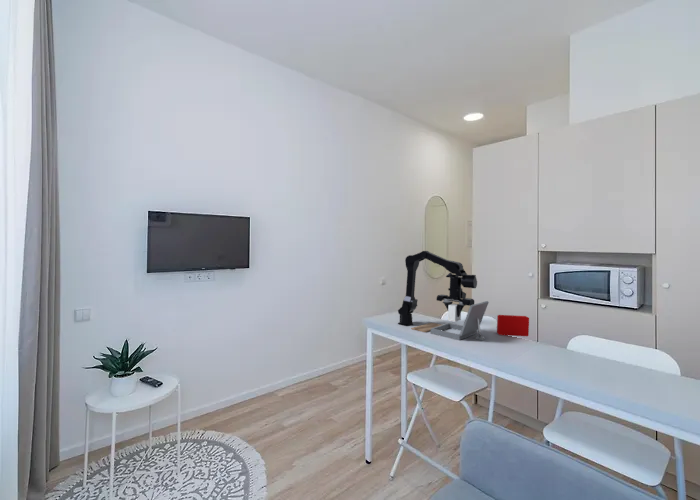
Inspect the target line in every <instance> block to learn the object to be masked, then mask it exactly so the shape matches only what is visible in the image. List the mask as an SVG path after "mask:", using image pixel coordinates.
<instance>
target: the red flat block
mask: <svg viewBox="0 0 700 500" xmlns="http://www.w3.org/2000/svg"><path fill="white" fill-rule="evenodd" d="M496 316H497V319H496V322H497V323H496V334H498V335H499V336H508V337H509V336H510V337H511V336H514V337H515V336H516V337H528V336H530V335H529V331H530V317H528V316H527V315H513V314H511V315H509V314H497V315H496Z"/></svg>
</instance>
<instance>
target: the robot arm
mask: <svg viewBox="0 0 700 500" xmlns="http://www.w3.org/2000/svg"><path fill="white" fill-rule="evenodd" d="M404 259H405V261H404V262H405V268H406V271H407V272H406V274H407V276H406V287H405V296H404V298H403V301H402V304H401V307H399V309H398V310H397V312H398V315H399V322H397V324H398V325H402V326H405V327H407V326H412V325H414V323H413V313H414V311H415V310H416V309H417V307H418V299H416V298H415V289H416V278H417V277H416V275H417V270H418V268H419V266H420V262H422V261H424V260H428V261H430V262H433V263H434V264H436V265H438V266H441V267H443V268H444V269H445V270H446V271H448V274H446V276H445V277H446V278H449V287H448V288H447V290H448V291H449V295H447V294H438V295H437V296H436V298H435V299H436V301H437V302H438V301H439V302H442V304H444V306H445V308H446V309H447V311H448V305H451V304H454V303H453V302H455V303H456V304H457V317H459V316H460V313H461V314H462V311H463V308H464V307H465V306H468V307H470V305H474V304H475V299H474V298H469V297H467V292H464V291H463V288H465V289H466V288H467V289H476V288H477V286H478V279H477V276H476V274H467V272H466V271H465V269H464V265H463V263H461V262H459V261H454V260H449V259H446V258H444V257H442V256H439V255H438V254H435V253H433V252H430V251H428V250H422V251H420V252H418V253H415V254H412V255H411V254H410V255H407V256H406V257H405V258H404ZM462 287H463V288H462Z"/></svg>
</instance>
